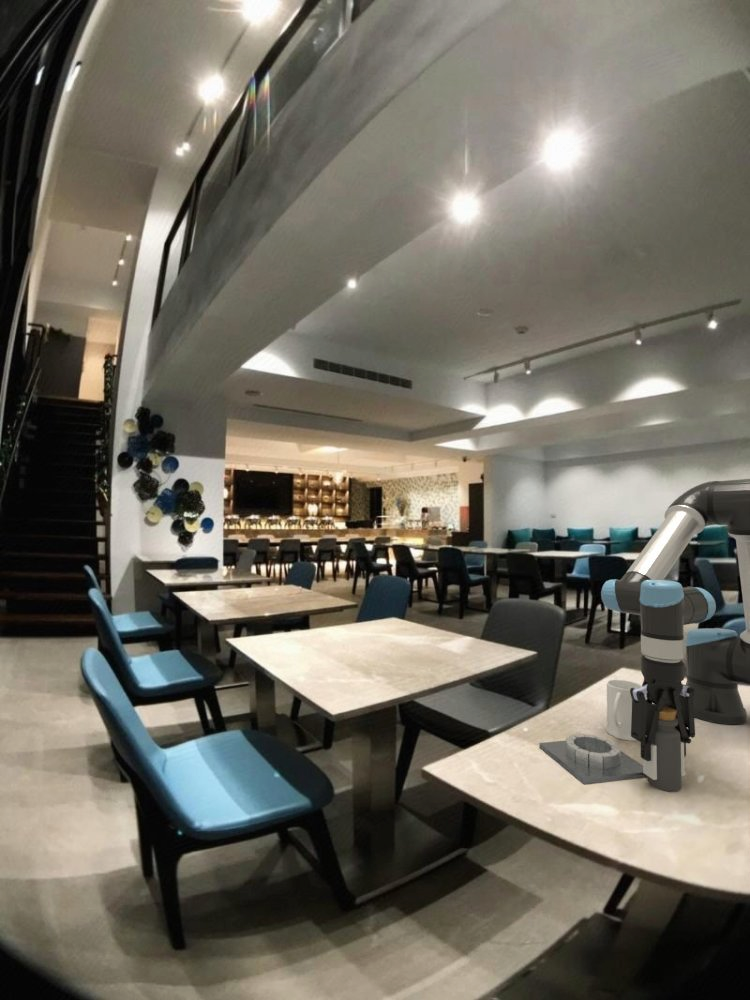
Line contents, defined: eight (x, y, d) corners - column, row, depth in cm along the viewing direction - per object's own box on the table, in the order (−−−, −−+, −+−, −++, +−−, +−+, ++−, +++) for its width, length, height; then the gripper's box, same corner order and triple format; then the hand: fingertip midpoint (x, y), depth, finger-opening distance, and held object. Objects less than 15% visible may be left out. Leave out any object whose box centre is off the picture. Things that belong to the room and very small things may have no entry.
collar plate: (599, 741, 114) (599, 726, 114) (652, 776, 99) (651, 758, 99) (539, 747, 111) (539, 732, 111) (584, 784, 95) (584, 766, 95)
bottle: (681, 795, 92) (680, 715, 92) (646, 786, 95) (645, 709, 96) (681, 781, 97) (679, 706, 97) (647, 773, 100) (646, 700, 101)
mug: (630, 748, 111) (629, 696, 111) (593, 735, 117) (593, 686, 118) (650, 734, 119) (649, 685, 119) (614, 723, 125) (614, 676, 126)
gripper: (684, 650, 103) (686, 761, 102) (609, 654, 99) (610, 769, 97) (716, 660, 95) (719, 779, 94) (636, 665, 91) (637, 789, 90)
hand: (663, 774), depth 96 cm, fingers closed on bottle, 6 cm apart
